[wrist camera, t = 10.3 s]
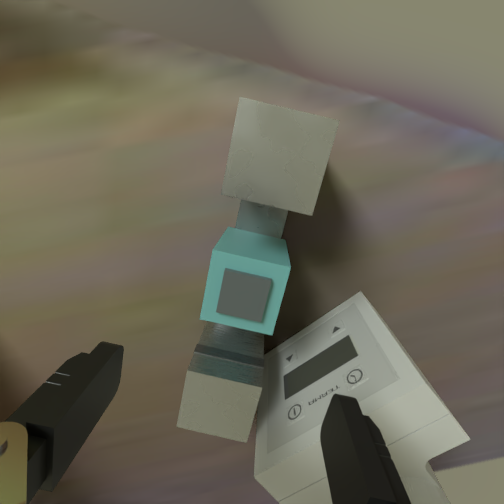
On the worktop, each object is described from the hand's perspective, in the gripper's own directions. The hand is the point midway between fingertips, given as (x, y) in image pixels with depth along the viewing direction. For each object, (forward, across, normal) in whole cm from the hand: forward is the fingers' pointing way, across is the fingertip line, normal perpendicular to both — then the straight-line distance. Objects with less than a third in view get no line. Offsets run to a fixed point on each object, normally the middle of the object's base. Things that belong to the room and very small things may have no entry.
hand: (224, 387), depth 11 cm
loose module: (+15, 0, 0) cm, 15 cm away
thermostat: (+17, -13, +10) cm, 24 cm away
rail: (+17, 0, 0) cm, 17 cm away
